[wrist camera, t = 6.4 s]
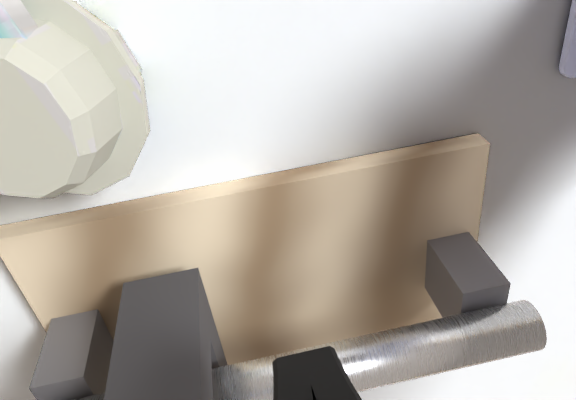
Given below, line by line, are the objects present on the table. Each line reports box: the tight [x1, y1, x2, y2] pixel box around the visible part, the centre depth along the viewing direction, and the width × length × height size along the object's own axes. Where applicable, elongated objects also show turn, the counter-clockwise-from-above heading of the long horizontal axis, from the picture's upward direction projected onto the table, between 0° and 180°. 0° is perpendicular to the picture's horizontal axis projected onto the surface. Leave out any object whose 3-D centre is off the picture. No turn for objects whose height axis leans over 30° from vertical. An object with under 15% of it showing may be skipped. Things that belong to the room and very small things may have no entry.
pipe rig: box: [0, 133, 546, 400], centre depth 20 cm, size 20×12×7 cm, turn 97°
